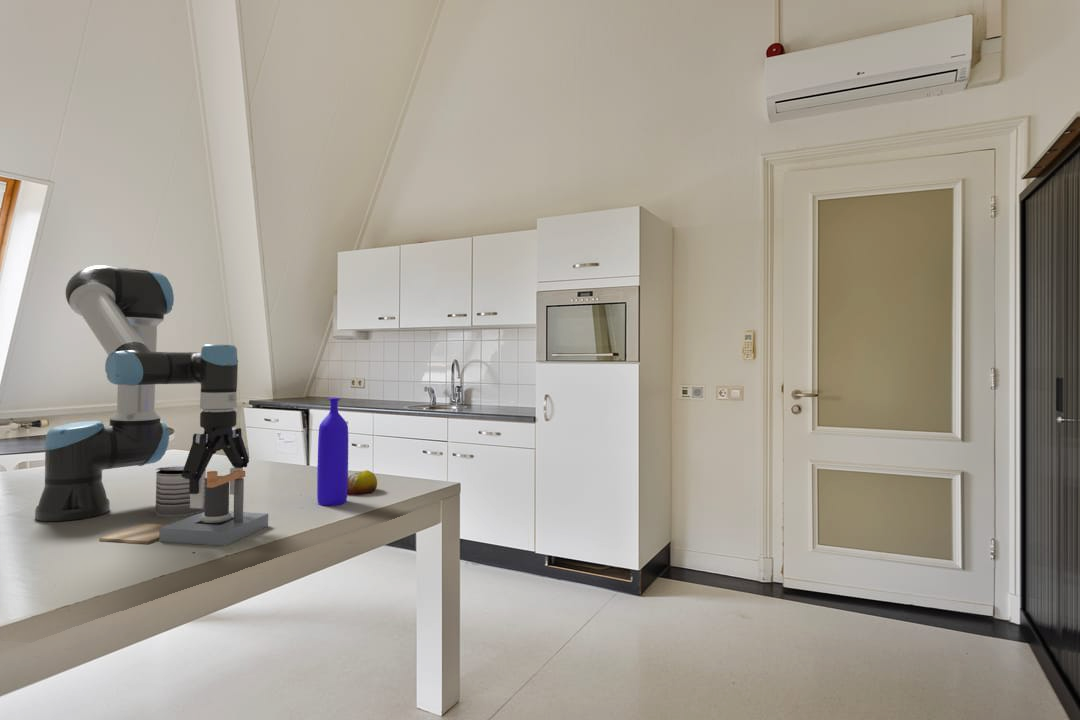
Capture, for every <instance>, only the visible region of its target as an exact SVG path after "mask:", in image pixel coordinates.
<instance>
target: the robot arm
mask: <svg viewBox="0 0 1080 720" xmlns="http://www.w3.org/2000/svg"><path fill="white" fill-rule="evenodd" d="M173 289H174V288H173V287H172V284H171V282H170V280H169V279H168V277H167V276H166V275H164V274H163V273H161V272H155V271H150V270H146V269H145V270H144V269H135V268H128V267H127V268H125V267H118V266H117V267H116V266H109V265H91V266H88V267H85V268H83V269H81V270H79V271H77V272H76V273H75V274H73V276H71V278H69V280H68V281H67V284H66V288H65V299H66V301H67V304H68V305H69V307H70V308H71V310H72V311H73V312H74V313H76V314H77V315H79V316H81V317H82V318H83V320H84V321H85V323H86V324H87V325H88V327H89V328H90V331H91V332H92V333H93V335H94V336H95V338H96V339H97V340H98V342H99V344H100V345H101V346H102V348H103V350H104V351H105V353H106V354H107V358H106V359H105V367H104V369H105V370H104V371H105V373H106V379H107V381H109V382H110V383H111V384H113V385H116V386H117V399H116V400H117V401H116V412H115V413H114V414H113V415H111V416H110V417H109V425H105V424H104V423H103V421H101V420H87V421H79V422H78V421H77V422H72V423H65V424H62V425H57V426H55V427H52V428H51V429H49V430H48V431H47V433H46V436H45V445H44V446H43V447H44V450H45V454H44V455H45V457H44V460H45V461H44V466H45V467H44V488H43V490H42V493H41V496H40V499H39V502H38V505H37V506H36V507H35V509H34V510H35V511H34V519H35V520H37V521H41V522H65V521H74V520H81V519H87V518H92V517H96V516H97V517H98V516H100V515H103V514H106V513H108V512H109V511H110V506H111V504H110V503H111V502H110V500H109V498H107V492H106V489H105V486H104V483H103V470H111V469H118V468H119V469H120V468H126V467H127V468H128V467H136V466H139V467H143V466H145V465H150V464H155V463H157V462H159V461H161V460H162V458H163V457H164V455H165V454H166V453H167V449H168V446H169V442H170V431H169V427H168V425H167V424H166V423H165V422H163V421H161V415H159V414H158V413H157V412H156V410H155V401H156V398H155V397H156V385H177V384H178V385H182V384H183V385H185V384H186V385H190V384H191V385H192V384H193V385H195V384H197V385H198V384H199V385H200V399H199V409H201V410H202V411H201V412H199V413H200V415H199V426H200V428H203V433H194V434H193V435H192V442H191V447H190V449H189V452H188V455H187V458H186V461H185V464H184V465H183V466H184V469H183V472H182V477H183V478H185V479H189V493H190V508H200V509H201V508H203V503H204V479H202V478H201V476H202V475H203V473H204V471H205V469H207V467H208V465H209V464H210V462H211V459H212V458H213V456H214V454H217V452H219V451H223V453H224V454H225V456H226V458H227V459H228V461H229V462H230V464H231V466H232V467H230V468H229V474H231V473H233V472H234V471H244V470H243V468H248V464H249V463H250V458H249V456H248V452H247V450H246V446H245V442H244V440H243V436H242V435H243V434H242V433H243V432H242V428H241V427H236V426H237V419H238V417H237V416H238V415H237V414H238V413H237V411H236V410H234V409H236V408H237V403H238V402H237V396H238V395H237V393H238V390H237V389H238V365H239V359H238V349H237V347H236V345H234V344H233V345H232V344H218V343H217V344H215V343H214V344H211V343H209V344H203V345H202V347H201V351H200V352H196V351H193V352H191V351H189V352H188V351H187V352H181V351H179V352H177V351H174V352H172V351H171V352H169V351H157V344H158V343H157V339H158V338H157V337H158V332H157V331H158V325H160V324H161V323H162V322H164V319H165V318H164V317H165V315H168V314H169V313H171V312H172V310H173V306H174V302H175V301H174V300H175V298H174V296H175V295H174V291H173ZM189 471H190V472H189ZM242 478H244V477H242ZM229 496H234V480H232V481H230V482H229Z"/></svg>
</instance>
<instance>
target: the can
mask: <svg viewBox="0 0 1080 720" xmlns="http://www.w3.org/2000/svg"><path fill="white" fill-rule="evenodd" d="M184 466H185V465H183V466H179V465H178V466H165V467H157V468H156V469H155V470H157V471H156V478H155V479H156V480H155V484H156V485H155V515H156V516H159V517H162V516H167V518H168V516H169V518H174V517H175V518H177V517H183V516H184V515H186V516H192V515H196V514H199V513H202V512H204V511H205V478H207V470H206V469H207V468H206V469H205V471H204V473H203V475H202V476H201V478H202V479H204V503H203V508H201V509H200V508H190V493H189V479H185V478H183V477H182V472H183V469H184ZM189 472H190V471H189ZM198 512H199V513H198ZM195 513H196V514H195ZM191 514H192V515H191ZM176 516H177V517H176Z"/></svg>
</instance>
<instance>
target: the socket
mask: <svg viewBox="0 0 1080 720" xmlns="http://www.w3.org/2000/svg"><path fill="white" fill-rule="evenodd" d="M244 478H245V477H243V478H238V479H235V480H234V495H233V511H230V510H229V511H230V512H232V518H231V519H230V520H229V522H226V523H224V524H222V525H211V524H204V522H202V521H201V516H202V514H204V513H205V511H202V512H199V513H196V514H193V515H190V516H189V517H186V518H184V519H181V520H178V521H175V522H172V523H170V524H165V525H166V526H164V527H161V528H159V540H158V541H159V542H162V543H163V542H165V543H179V544H192V545H194V544H195V545H209V546H224V547H225V546H228V545H230V544H233V543H234V542H236V541H239V540H241V539H243V538H245V537H247V536H249V535H251V534H253V533H256V532H259V531H260V530H262V529H264V528H266V527H268V526H269V513H263V512H262V513H261V512H247V511H246V512H245V511H244V496H245V493H244V492H245V486H244V485H245V479H244Z"/></svg>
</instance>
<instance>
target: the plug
mask: <svg viewBox="0 0 1080 720" xmlns="http://www.w3.org/2000/svg"><path fill="white" fill-rule="evenodd" d="M222 476H223V475H218V478H219V477H222ZM204 512H205V513H204V514H202V516H201V521H202V522H204V524H211V525H222V524H224V523H226V522H229V520H230V519H231V518H232V512H233V511H232V512H230V482H227V483H224V484H222V485H219V486H216V487H214V488H207V477H206V478H205V509H204Z"/></svg>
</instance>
